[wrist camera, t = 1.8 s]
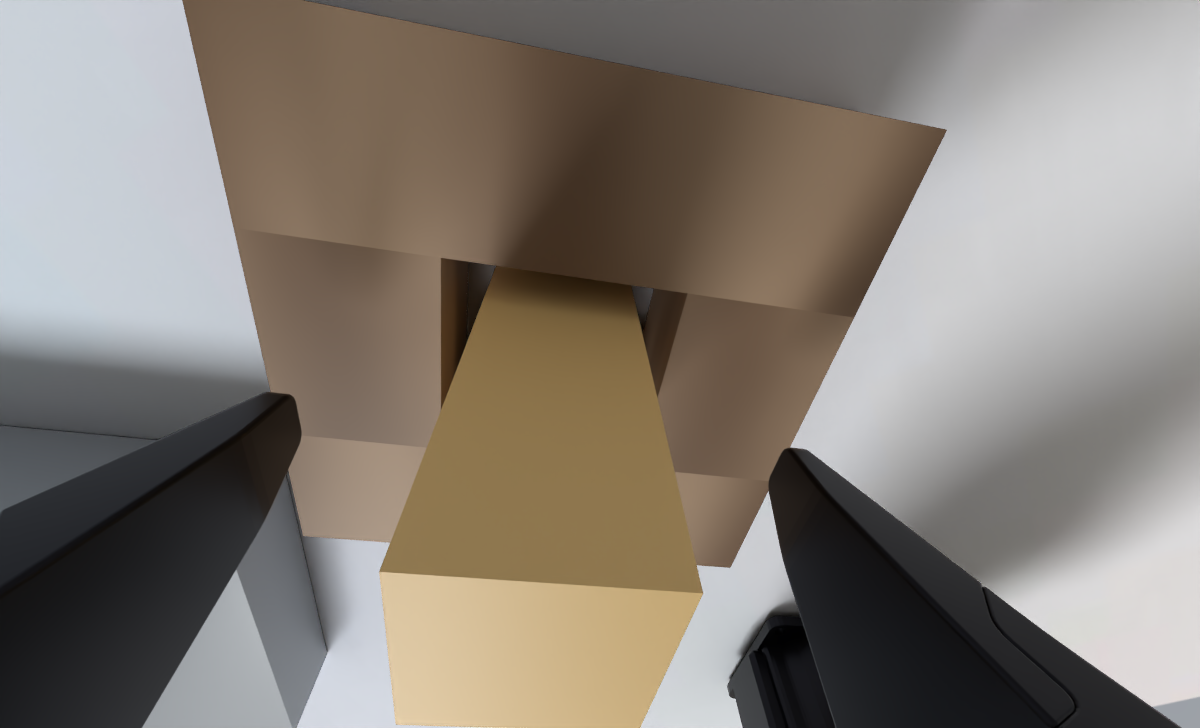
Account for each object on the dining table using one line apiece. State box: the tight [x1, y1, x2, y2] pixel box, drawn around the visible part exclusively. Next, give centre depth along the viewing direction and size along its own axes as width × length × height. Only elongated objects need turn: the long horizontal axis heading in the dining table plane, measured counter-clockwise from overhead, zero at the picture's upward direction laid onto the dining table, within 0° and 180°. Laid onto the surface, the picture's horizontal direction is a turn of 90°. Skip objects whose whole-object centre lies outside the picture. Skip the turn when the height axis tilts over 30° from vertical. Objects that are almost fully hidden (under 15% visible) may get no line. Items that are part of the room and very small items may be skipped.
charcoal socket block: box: [0, 426, 327, 728], centre depth 17 cm, size 12×12×3 cm
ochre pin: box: [379, 266, 703, 728], centre depth 9 cm, size 3×3×9 cm
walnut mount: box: [182, 0, 947, 568], centre depth 12 cm, size 12×12×3 cm
